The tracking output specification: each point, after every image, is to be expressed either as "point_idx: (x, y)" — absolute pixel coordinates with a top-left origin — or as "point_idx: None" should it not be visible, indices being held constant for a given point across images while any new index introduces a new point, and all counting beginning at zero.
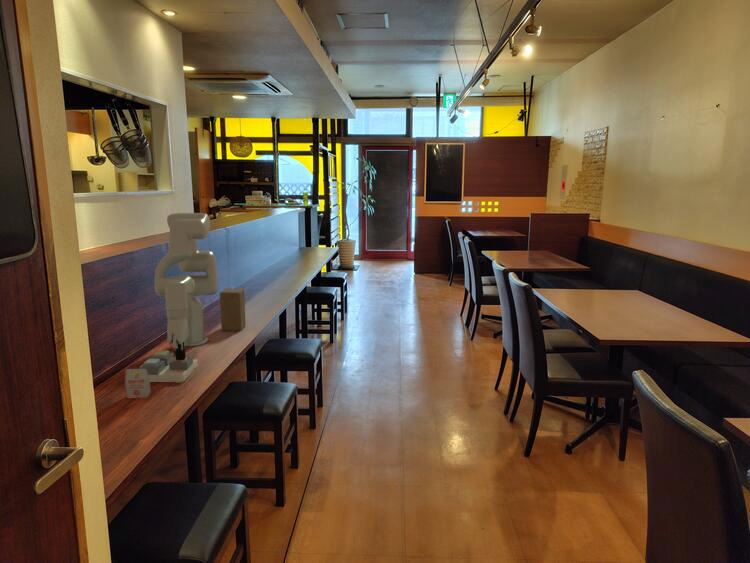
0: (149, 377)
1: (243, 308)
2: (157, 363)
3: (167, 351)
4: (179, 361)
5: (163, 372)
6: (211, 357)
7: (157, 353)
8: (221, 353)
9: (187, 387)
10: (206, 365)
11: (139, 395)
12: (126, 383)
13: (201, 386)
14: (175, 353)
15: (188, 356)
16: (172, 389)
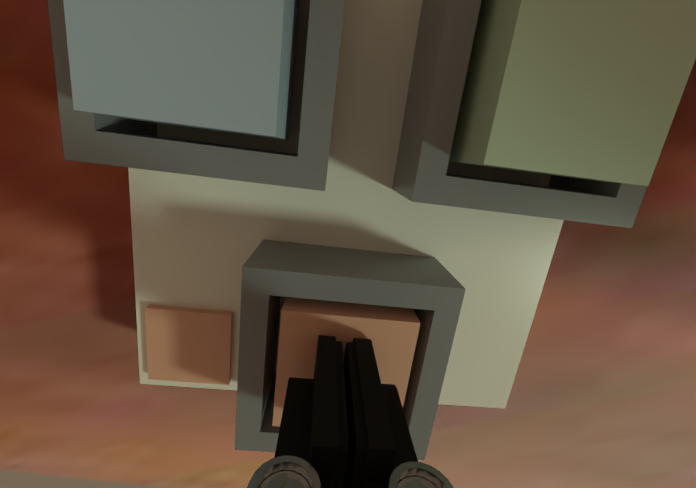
0: None
1: None
2: (176, 124)
3: (621, 170)
4: (276, 372)
5: (198, 195)
6: (634, 413)
7: (569, 12)
8: (689, 455)
9: (84, 381)
10: (482, 412)
11: None
12: None
13: (107, 453)
14: (316, 391)
15: (430, 423)
16: (39, 295)
